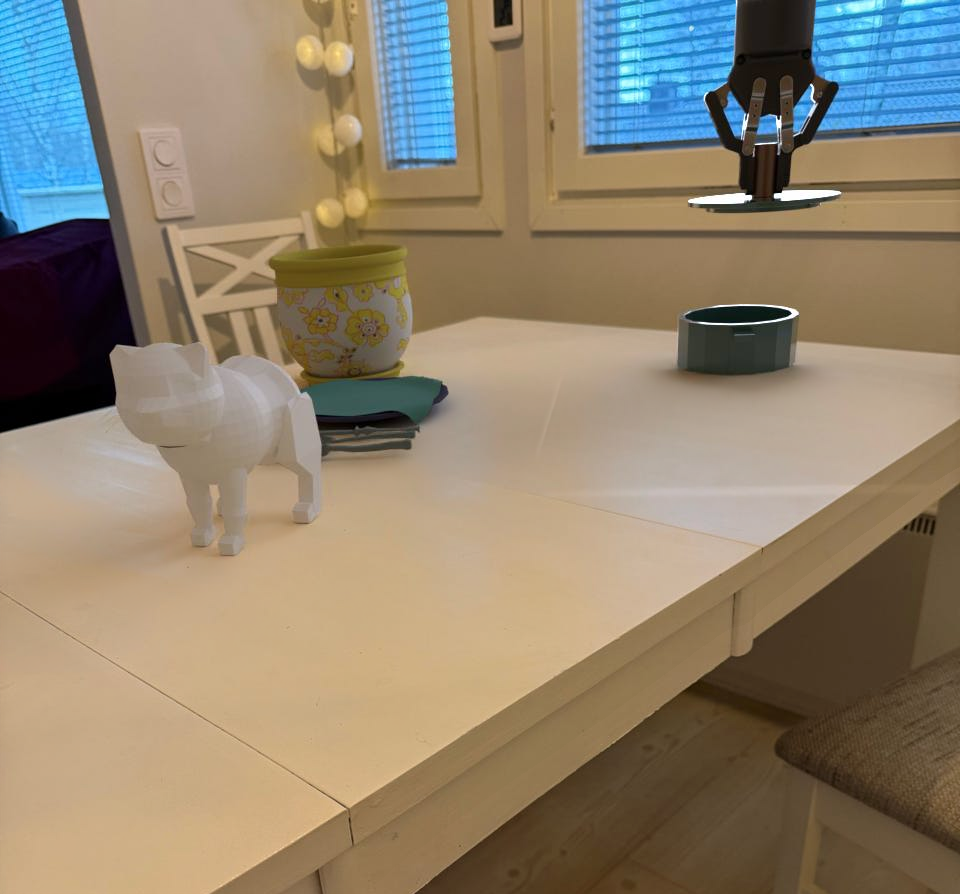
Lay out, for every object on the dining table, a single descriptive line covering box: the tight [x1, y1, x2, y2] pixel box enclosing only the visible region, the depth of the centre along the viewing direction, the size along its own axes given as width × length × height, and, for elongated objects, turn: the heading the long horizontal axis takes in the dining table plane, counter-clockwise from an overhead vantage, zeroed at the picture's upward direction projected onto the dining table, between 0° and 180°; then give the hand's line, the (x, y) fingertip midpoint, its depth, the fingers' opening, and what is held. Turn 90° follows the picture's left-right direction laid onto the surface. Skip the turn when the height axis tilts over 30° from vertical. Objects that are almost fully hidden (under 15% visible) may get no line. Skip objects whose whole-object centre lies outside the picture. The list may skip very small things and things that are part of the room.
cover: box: [687, 142, 842, 214], centre depth 99 cm, size 16×16×6 cm
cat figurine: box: [98, 341, 323, 556], centre depth 77 cm, size 25×10×17 cm, turn 164°
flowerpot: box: [268, 243, 413, 386], centre depth 127 cm, size 18×18×16 cm
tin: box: [676, 304, 800, 376], centre depth 121 cm, size 15×20×6 cm
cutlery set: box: [299, 375, 449, 458], centre depth 109 cm, size 20×30×2 cm, turn 176°
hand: (763, 193), depth 100 cm, fingers closed on cover, 2 cm apart
